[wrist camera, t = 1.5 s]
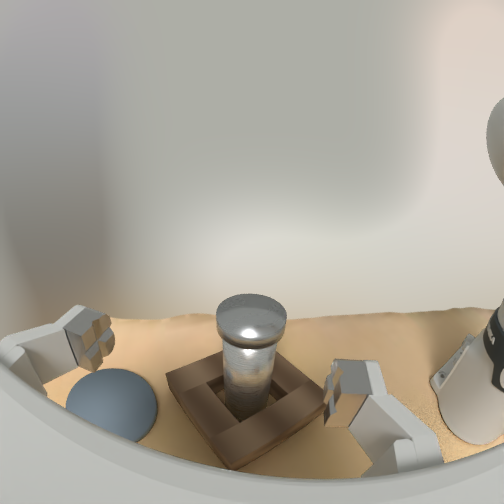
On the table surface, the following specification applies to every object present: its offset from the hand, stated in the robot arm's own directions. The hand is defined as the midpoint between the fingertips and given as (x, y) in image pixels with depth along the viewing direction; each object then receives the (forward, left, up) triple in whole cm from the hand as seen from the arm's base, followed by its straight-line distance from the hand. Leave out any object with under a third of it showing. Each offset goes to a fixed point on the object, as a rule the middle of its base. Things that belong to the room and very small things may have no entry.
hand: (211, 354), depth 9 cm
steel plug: (-9, -9, -21) cm, 25 cm away
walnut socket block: (-9, -9, -21) cm, 25 cm away
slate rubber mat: (+6, -16, -21) cm, 27 cm away
